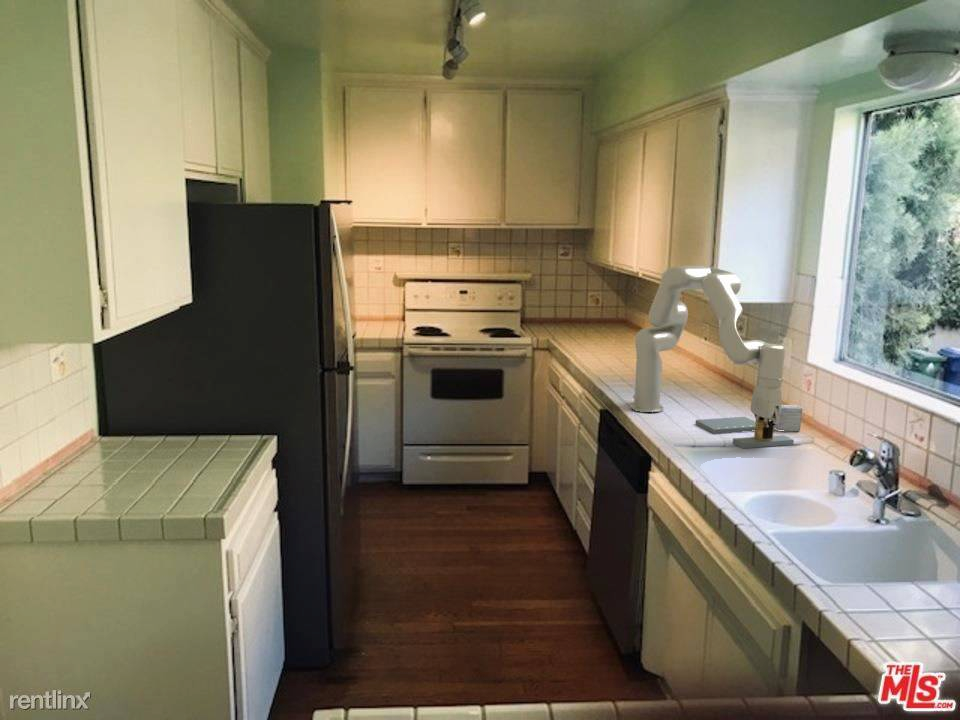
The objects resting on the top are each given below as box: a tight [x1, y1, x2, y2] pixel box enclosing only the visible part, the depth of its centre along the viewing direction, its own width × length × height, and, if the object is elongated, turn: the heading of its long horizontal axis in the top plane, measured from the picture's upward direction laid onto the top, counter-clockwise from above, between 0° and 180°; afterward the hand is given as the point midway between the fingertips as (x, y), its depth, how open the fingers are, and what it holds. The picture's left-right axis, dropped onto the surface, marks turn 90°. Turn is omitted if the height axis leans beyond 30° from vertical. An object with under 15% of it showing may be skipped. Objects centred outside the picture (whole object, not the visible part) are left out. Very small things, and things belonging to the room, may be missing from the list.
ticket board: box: [695, 416, 756, 435], centre depth 261 cm, size 12×20×2 cm, turn 105°
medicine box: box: [774, 404, 804, 432], centre depth 259 cm, size 8×4×9 cm, turn 92°
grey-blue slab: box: [732, 420, 795, 449], centre depth 243 cm, size 6×19×8 cm, turn 105°
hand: (763, 436), depth 243 cm, fingers closed on grey-blue slab, 3 cm apart
